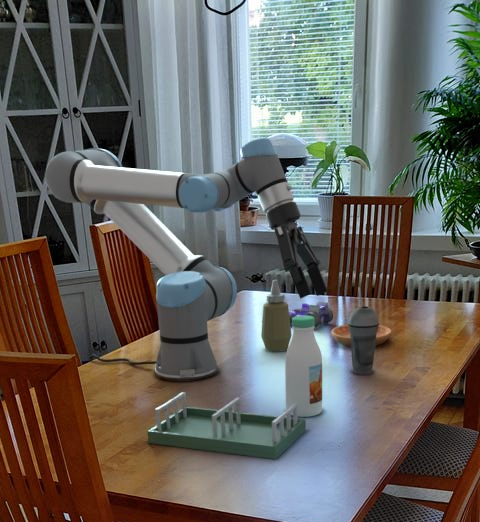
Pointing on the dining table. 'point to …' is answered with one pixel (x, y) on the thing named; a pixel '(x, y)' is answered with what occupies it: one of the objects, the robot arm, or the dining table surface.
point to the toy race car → (314, 313)
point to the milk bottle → (303, 369)
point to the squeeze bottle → (276, 321)
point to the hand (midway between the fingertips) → (314, 295)
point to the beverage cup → (363, 337)
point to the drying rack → (226, 429)
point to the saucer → (344, 338)
